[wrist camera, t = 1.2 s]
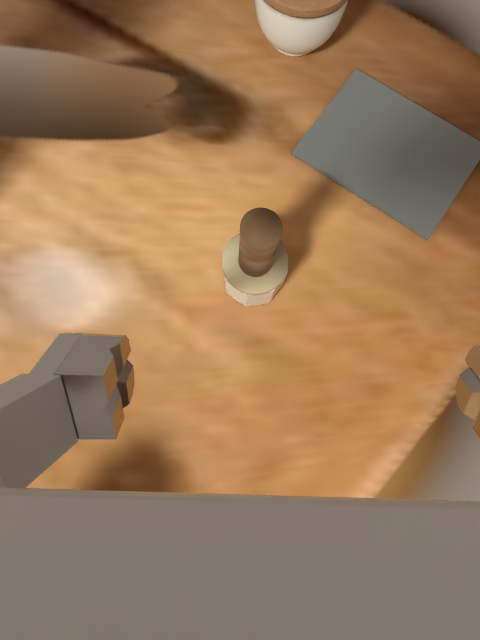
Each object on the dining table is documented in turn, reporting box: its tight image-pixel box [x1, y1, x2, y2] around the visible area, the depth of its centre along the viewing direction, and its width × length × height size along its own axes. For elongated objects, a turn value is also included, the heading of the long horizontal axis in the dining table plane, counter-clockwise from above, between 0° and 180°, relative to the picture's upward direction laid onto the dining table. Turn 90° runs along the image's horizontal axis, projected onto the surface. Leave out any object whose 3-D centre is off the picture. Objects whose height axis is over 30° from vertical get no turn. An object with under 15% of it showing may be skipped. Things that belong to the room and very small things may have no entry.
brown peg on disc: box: [222, 208, 289, 295], centre depth 34 cm, size 6×6×8 cm
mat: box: [292, 69, 480, 240], centre depth 45 cm, size 18×14×1 cm
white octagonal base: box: [222, 255, 288, 306], centre depth 40 cm, size 6×6×4 cm
